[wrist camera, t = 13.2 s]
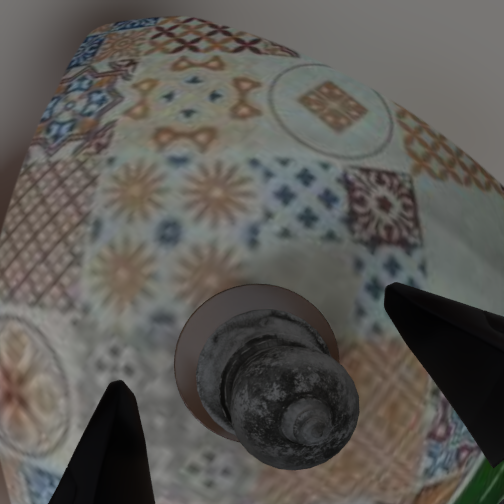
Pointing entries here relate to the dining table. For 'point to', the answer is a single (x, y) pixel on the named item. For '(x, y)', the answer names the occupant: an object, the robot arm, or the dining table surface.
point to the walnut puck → (222, 311)
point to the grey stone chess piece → (277, 389)
